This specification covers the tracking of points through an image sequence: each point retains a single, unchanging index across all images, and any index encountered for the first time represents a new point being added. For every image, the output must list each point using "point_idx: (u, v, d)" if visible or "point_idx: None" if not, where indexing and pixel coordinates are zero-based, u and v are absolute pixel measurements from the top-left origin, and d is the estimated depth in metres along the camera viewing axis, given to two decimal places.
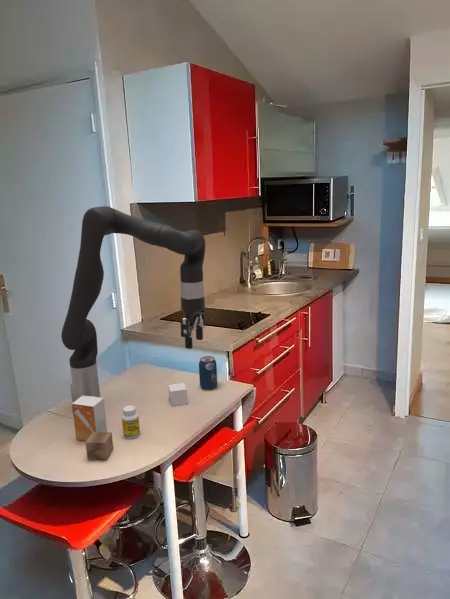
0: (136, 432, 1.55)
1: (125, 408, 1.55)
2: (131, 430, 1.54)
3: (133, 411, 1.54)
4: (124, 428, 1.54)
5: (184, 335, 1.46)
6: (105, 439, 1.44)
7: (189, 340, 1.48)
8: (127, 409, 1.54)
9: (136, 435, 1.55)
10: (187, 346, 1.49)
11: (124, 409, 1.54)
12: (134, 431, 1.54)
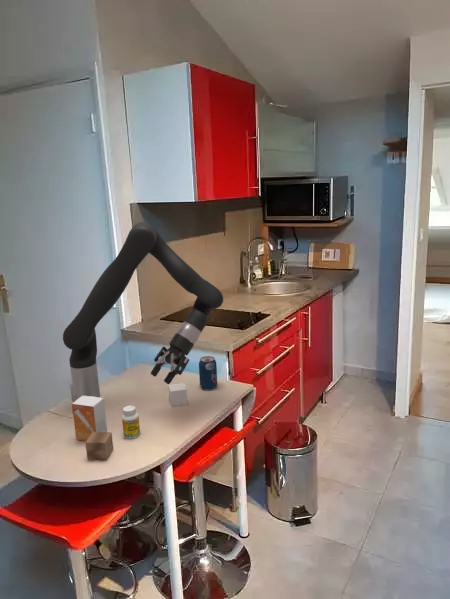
0: (136, 432, 1.55)
1: (125, 408, 1.55)
2: (131, 430, 1.54)
3: (133, 411, 1.54)
4: (124, 428, 1.54)
5: (179, 371, 1.56)
6: (105, 439, 1.44)
7: (174, 376, 1.57)
8: (127, 409, 1.54)
9: (136, 435, 1.55)
10: (169, 381, 1.56)
11: (124, 409, 1.54)
12: (134, 431, 1.54)
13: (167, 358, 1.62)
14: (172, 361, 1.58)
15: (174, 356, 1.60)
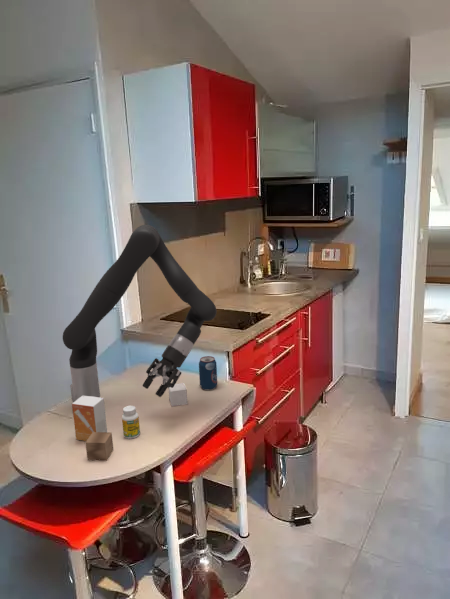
0: (136, 432, 1.55)
1: (125, 408, 1.55)
2: (131, 430, 1.54)
3: (133, 411, 1.54)
4: (124, 428, 1.54)
5: (171, 384, 1.55)
6: (105, 439, 1.44)
7: (165, 389, 1.56)
8: (127, 409, 1.54)
9: (136, 435, 1.55)
10: (161, 394, 1.55)
11: (124, 409, 1.54)
12: (134, 431, 1.54)
13: (159, 370, 1.61)
14: (164, 374, 1.57)
15: (166, 368, 1.59)
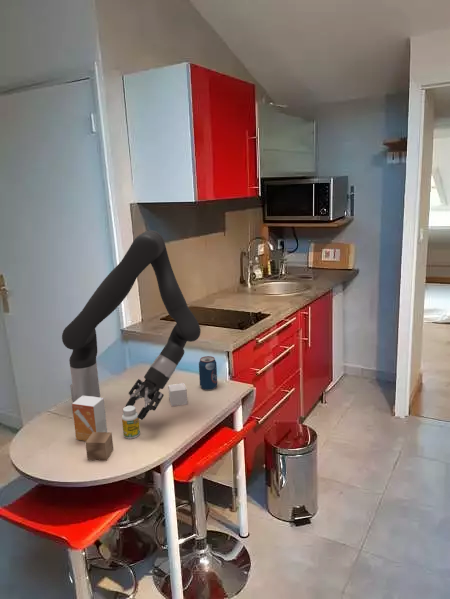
0: (136, 432, 1.55)
1: (125, 408, 1.55)
2: (131, 430, 1.54)
3: (133, 411, 1.54)
4: (124, 428, 1.54)
5: (152, 407, 1.52)
6: (105, 439, 1.44)
7: (147, 412, 1.53)
8: (127, 409, 1.54)
9: (136, 435, 1.55)
10: (142, 417, 1.52)
11: (124, 409, 1.54)
12: (134, 431, 1.54)
13: (141, 392, 1.58)
14: (146, 396, 1.54)
15: (148, 391, 1.55)
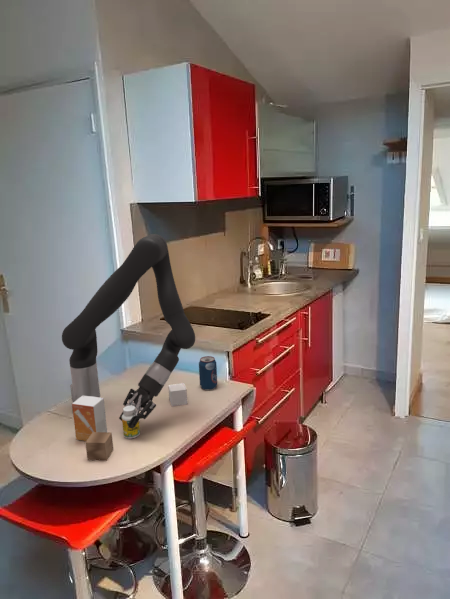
0: (136, 432, 1.55)
1: (125, 408, 1.55)
2: (131, 430, 1.54)
3: (133, 411, 1.54)
4: (124, 428, 1.54)
5: (143, 416, 1.52)
6: (105, 439, 1.44)
7: None
8: (127, 409, 1.54)
9: (136, 435, 1.55)
10: (133, 425, 1.52)
11: (124, 409, 1.54)
12: (134, 431, 1.54)
13: (136, 400, 1.56)
14: (138, 404, 1.54)
15: (142, 399, 1.54)
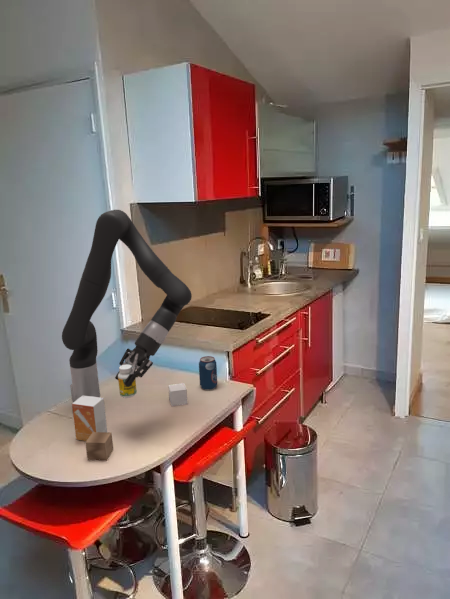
0: (133, 392, 1.51)
1: (121, 366, 1.51)
2: (127, 389, 1.50)
3: (129, 369, 1.50)
4: (120, 387, 1.51)
5: (139, 374, 1.48)
6: (105, 439, 1.44)
7: (134, 379, 1.49)
8: (123, 367, 1.50)
9: (133, 394, 1.52)
10: (129, 384, 1.48)
11: (120, 367, 1.50)
12: (131, 390, 1.51)
13: (133, 359, 1.53)
14: (135, 362, 1.50)
15: (138, 357, 1.51)
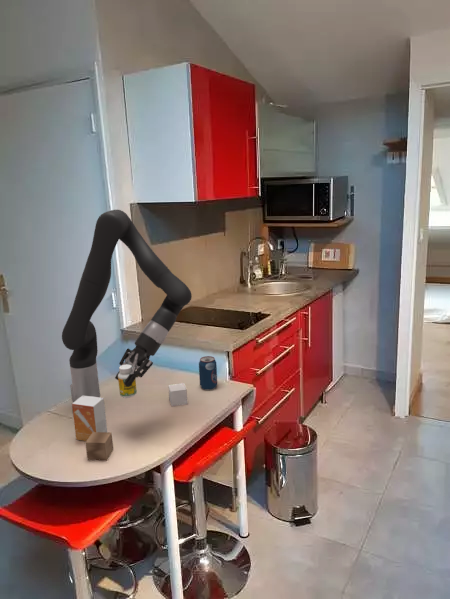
0: (133, 392, 1.51)
1: (121, 366, 1.51)
2: (127, 389, 1.50)
3: (129, 369, 1.50)
4: (120, 387, 1.51)
5: (139, 374, 1.48)
6: (105, 439, 1.44)
7: (134, 379, 1.49)
8: (123, 367, 1.50)
9: (133, 394, 1.52)
10: (129, 384, 1.48)
11: (120, 367, 1.50)
12: (131, 390, 1.51)
13: (133, 359, 1.53)
14: (135, 362, 1.50)
15: (138, 357, 1.51)
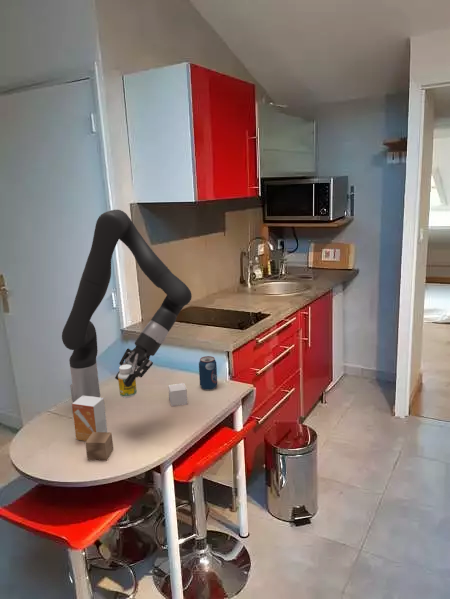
0: (133, 392, 1.51)
1: (121, 366, 1.51)
2: (127, 389, 1.50)
3: (129, 369, 1.50)
4: (120, 387, 1.51)
5: (139, 374, 1.48)
6: (105, 439, 1.44)
7: (134, 379, 1.49)
8: (123, 367, 1.50)
9: (133, 394, 1.52)
10: (129, 384, 1.48)
11: (120, 367, 1.50)
12: (131, 390, 1.51)
13: (133, 359, 1.53)
14: (135, 362, 1.50)
15: (138, 357, 1.51)
